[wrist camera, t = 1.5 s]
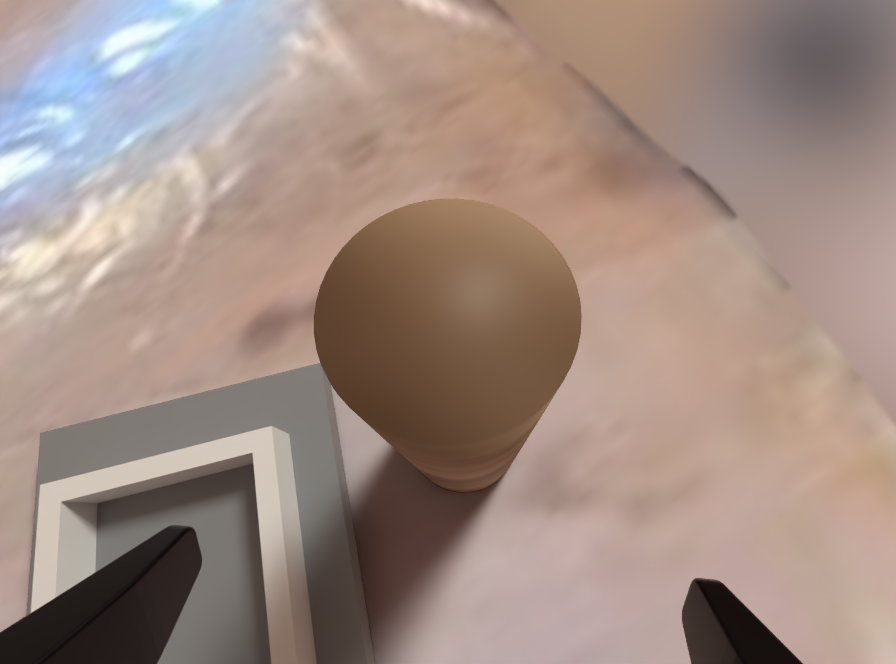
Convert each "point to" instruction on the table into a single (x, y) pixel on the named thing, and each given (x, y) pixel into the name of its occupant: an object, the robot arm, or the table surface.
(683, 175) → the table surface
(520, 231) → the walnut post
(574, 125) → the table surface
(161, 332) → the table surface
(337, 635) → the grey framed base plate
